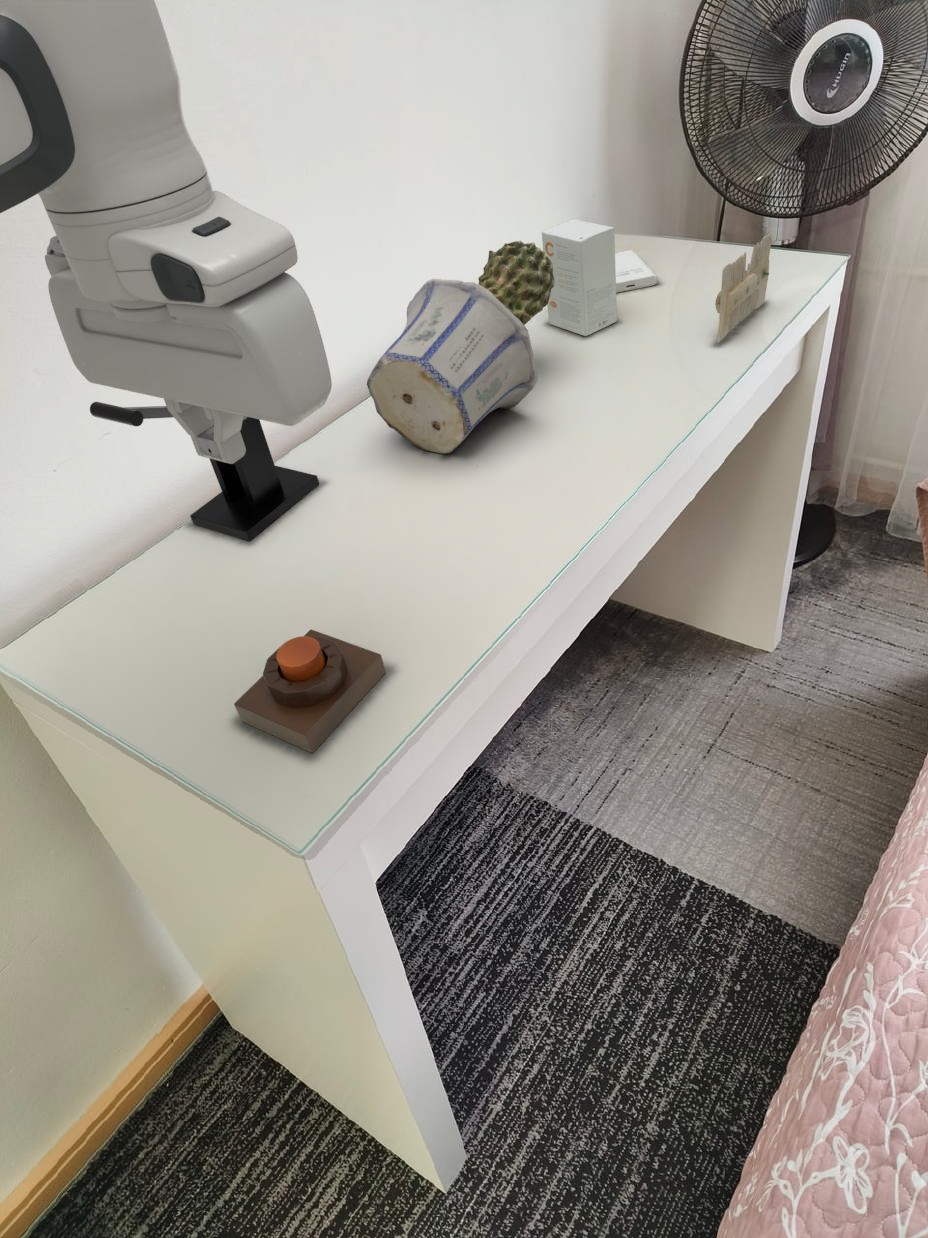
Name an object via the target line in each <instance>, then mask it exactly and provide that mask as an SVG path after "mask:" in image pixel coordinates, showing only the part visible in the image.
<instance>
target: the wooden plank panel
mask: <svg viewBox="0 0 928 1238" xmlns="http://www.w3.org/2000/svg"><path fill="white" fill-rule="evenodd" d="M771 246H772V234H771V233H768V234H766V235H765V236H763V237H762V238H761V240H760V242H759V241H757V242H756V244H755V245H754V246H753V249H752V253H751V258H750V262H749V263H748V264H747V252H746V251H745V252H744V253H743V254H741V255H740V256H739V257H737V259H735V261H732V262H730V263H727V264H726V265H725V266H724V267H723V268H722V273H721V289H720V291H719V292H718V293H717V294H716V298H715V303H714V305H715V311H716V312H717V314H719V318H718V319H719V320H718V330H717V344H718V343H720V342H721V341H722V340H723V339H725V337H726V336H727V335H728V333H730V332H731V331H732V330H733V329H734V328H735V327H736V326H737V325H739V324H740V323H741V322H742V321H743V320H746V317H748V316H749V315H750V314H752V312H754V310H758V309H759V308H760V307H761V306H763V305H764V303H765V299H766V293H767V287H768V280H769V275H770V255H771ZM746 267H747V269H746Z"/></svg>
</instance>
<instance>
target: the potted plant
mask: <svg viewBox="0 0 928 1238" xmlns="http://www.w3.org/2000/svg"><path fill="white" fill-rule="evenodd" d="M482 270H483V273H482V274H481V275H479V276H478V278H477V280H478V283H477V282H474V281H463V280H457V279H443V278H442V279H441V278H430V279H428V280H426V282H425V283H424V284H423V285H422V286H421V287H420V289H419V290H417V292H416V293H415V294H414V296H413V298H412V299H411V300H410V301H409V302H408V304H407V307H406V324H405V326H404V329H403V330H402V333H401V334H400V335H399V337H397V339H396V340H395V341H394V342H393V343H392V344H391V345H390V346H389V348H387V350H385V352H384V353H383V355H382V356H381V357H380V358H379V359H378V361H377V363H376V364H375V365H374V367H373V369H372V370H371V372H370V374H369V376H368V378H367V380H366V386H367V389H368V392H369V396H370V397H371V398H372V399H373V403H374V407H375V410H376V413H377V414H378V415H379V417H380V418H382V420H383V421H384V422H385V423H386V425H387V426H388V428H390V429H392V430H394V431H395V432H396V433H397V434H399V435H400V436H401V437H402V438H404V439H405V440H407V441H409V442H410V443H411V444H412V445H414V446H416V447H418V448H419V449H421V450H422V451H425V452H432V453H437V454H444V455H445V454H451V452H453V451H454V450H455V449H456V448H457V447H459V445H461V444H462V443H463V441H464V440H465V439H466V438H467V437H468V436H469V435H470V433H471V432H472V431H473V430H474V429H475V427H477V425H479V424H480V422H481V421H482V420H483V419H485V417H487V416H488V415H489V414H490V413H492V412H493V411H495V410H497V409H502V410H511V409H513V408H514V407H516V406H517V405H518V404H520V402H521V401H523V399H525V397H527V395H528V394H530V392H532V390H533V389H534V388H535V386H536V385H537V382H538V372H537V369H536V364H535V359H534V350H533V346H532V342H531V338H530V333H529V330H528V328H527V327H526V326H525V325H526V324H527V323H528V322H530V321H531V320H532V319H533V318H534V317H535V316H536V315H537V314H539V313H540V312H542V311H543V309H544V308H545V307H546V306H547V304H548V302H549V298H550V293H551V289H552V288H553V287H554V283H555V280H554V277H553V264H552V262H551V261H550V259H549V258H548V256H547V254H546V253H545V252H543V249H541V247H537V246H536V243H535V242H533V241H532V242H527V243H524V242H523V241H521V240H516V241H511V242H509V243H504V245H502V247H501V248H499V249H498V250H496V251H493V250H491V249H490V250H488V257H487V262H486V264H485V265H484V266H483V268H482Z"/></svg>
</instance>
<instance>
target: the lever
mask: <svg viewBox="0 0 928 1238" xmlns="http://www.w3.org/2000/svg"><path fill="white" fill-rule="evenodd" d="M89 412H90V413H89V414H91V416H92V417H95V418H98V419H103V420H106V421H110V422H115V423H121V424H124V425H127V426H132V427H140V426H141V425H142V424H143V423H144V420H150V419H169V418H171V419H172V418H174V417H173V416H172V414H171V413H170V412H169V411H168V408H167V406H166V405H156V406H155V405H154V406H124V407H123V406H119V405H115V404H109V403H105V402H101V401H93V402H92V403H91V404H90V406H89Z"/></svg>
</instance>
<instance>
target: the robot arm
mask: <svg viewBox="0 0 928 1238" xmlns="http://www.w3.org/2000/svg"><path fill="white" fill-rule="evenodd" d="M161 18H162V17H161V16H160V13H159V10H158V7H157V5H156V1H155V0H0V214H1V213H4V212H7V211H8V210H10V209H12V208H14V207H16V206H18V205H20V204H22V203H24V202H25V201H27V200H29V199H31V198H32V197H35V196H36V195H38V196H39V198H40V200H41V202H42V204H43V207H44V209H45V212H46V215H47V216H48V219H49V222H50V224H51V226H52V228H53V230H54V233H55V235H54V236H51V238H50V239H49V243H48V246H47V248H46V254H45V255H44V261H45V265H46V268H47V271H48V272H49V274H50V278H49V280H48V283H47V284H48V287H47V288H48V295H49V300H50V302H51V305H52V309H53V312H54V315H55V318H56V322H57V324H58V326H59V329H60V332H61V335H62V337H63V340H64V343H65V345H66V348H67V350H68V353H69V355H70V358H71V361H72V362H73V364H74V366H75V368H76V369H77V370H78V372H79V373H80V374H81V375H82V376H83V378H85V380H87V382H89V383H91V384H94V385H99V386H104V387H107V388H113V389H118V390H122V391H126V392H132V393H136V394H139V395H140V394H141V395H145V396H149V397H155V398H159V399H163V401H164V403H165V406H167V408H168V411H169V412H170V413H171V414H172V416H173V417H172V418H173V419H174V420H175V421H176V422H177V423H178V424H179V425H180V427H181V428H182V429H183V430H184V431H185V432H186V433H187V435H188V436H190V439H191V441H192V444H193V446H194V449H195V452H196V454H197V455H198V456H199V457H202V458H206V459H209V460H210V459H214V460H218V461H221V462H225V463H229V464H233V463H235V462H236V461H238V460H239V459H240V458H242V457H243V456H244V455H245V452H246V448H245V445H244V442H243V439H242V436H241V432H240V430H241V427H242V422H243V417H244V416H246V417H251V418H255V419H259V420H260V421H264V422H270V423H274V424H279V425H283V426H289V427H292V426H295V425H296V426H297V425H298V424H299V423H301V422H303V421H304V420H305V419H307V418H309V417H310V416H311V415H312V414H314V413H315V412H316V411H318V410H319V409H320V408H322V407H323V406H324V405H325V404H326V402H327V400H328V399H329V396H330V393H331V391H332V385H333V384H332V375H331V369H330V365H329V360H328V357H327V352H326V349H325V345H324V342H323V338H322V334H321V331H320V330H321V329H320V327H319V324H318V320H317V317H316V313H315V310H314V309H313V306H312V303H311V300H310V298H309V296H308V294H307V292H306V290H305V289H304V287H303V285H301V284H300V282H299V281H298V280H297V278H295V277H293V275H291V274H289V273H287V271H288V270H290V269H291V268H292V267H294V266H296V264H297V263H298V249H297V245H296V242H295V239H294V236H293V234H292V233H291V231H290V230H289V229H288V228H287V227H286V226H284V225H283V224H281V223H279V222H277V221H275V220H273V219H271V218H269V217H266V216H264V215H262V214H260V213H259V212H256V211H254V210H251V209H250V208H248V207H246V206H245V205H243V204H240V203H239V202H238V201H236V200H234V199H233V198H231V197H230V196H228V195H226V194H225V193H224V192H222V191H219V190H214V189H213V186H212V182H211V179H210V176H209V173H208V169H207V165H206V163H205V161H204V159H203V157H202V154H201V153H200V151H199V150H198V148H197V146H196V144H195V143H194V141H193V139H192V138H191V136H190V133H189V130H188V128H187V125H186V121H185V117H184V112H183V108H182V92H181V89H182V88H181V80H180V79H181V78H180V75H179V72H178V68H177V65H176V62H175V59H174V56H173V53H172V48H171V46H170V43H169V40H168V37H167V34H166V31H165V28H164V25H163V21H162V19H161Z"/></svg>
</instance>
